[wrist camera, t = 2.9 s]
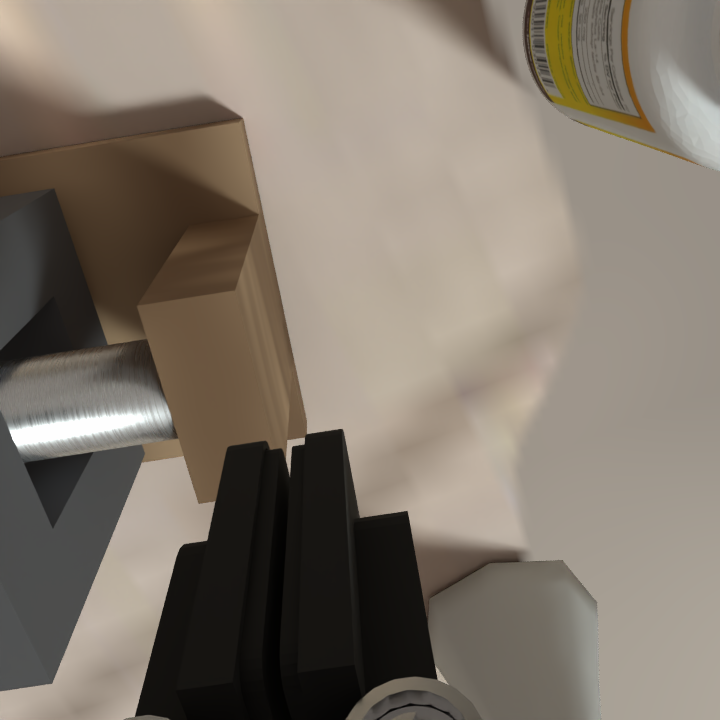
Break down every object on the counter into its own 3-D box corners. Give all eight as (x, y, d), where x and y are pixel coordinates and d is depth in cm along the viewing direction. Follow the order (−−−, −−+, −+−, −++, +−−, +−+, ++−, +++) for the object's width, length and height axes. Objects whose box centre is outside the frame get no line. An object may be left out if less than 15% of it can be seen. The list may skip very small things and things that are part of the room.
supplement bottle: (760, 6, 19) (1197, -17, 9) (605, 166, 20) (845, 280, 11) (631, -162, 17) (1016, -395, 8) (473, 29, 18) (628, 29, 9)
